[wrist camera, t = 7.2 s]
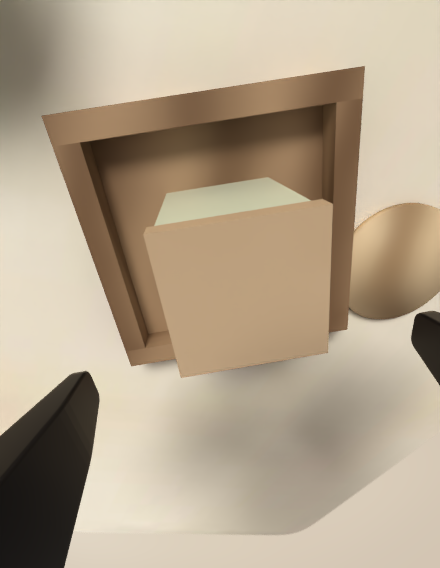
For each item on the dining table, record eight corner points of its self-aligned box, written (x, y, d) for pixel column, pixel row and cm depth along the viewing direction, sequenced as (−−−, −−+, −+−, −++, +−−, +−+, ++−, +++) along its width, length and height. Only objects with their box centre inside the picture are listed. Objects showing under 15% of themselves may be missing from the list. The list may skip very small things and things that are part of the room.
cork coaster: (450, 180, 18) (457, 182, 17) (456, 289, 21) (462, 292, 21) (322, 235, 19) (325, 237, 18) (348, 331, 22) (351, 335, 22)
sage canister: (270, 173, 16) (332, 203, 9) (276, 271, 19) (327, 352, 12) (163, 190, 16) (143, 234, 9) (184, 286, 19) (181, 377, 12)
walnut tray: (342, 74, 15) (364, 66, 13) (333, 312, 21) (347, 329, 19) (60, 118, 15) (41, 115, 13) (136, 345, 21) (131, 366, 19)
